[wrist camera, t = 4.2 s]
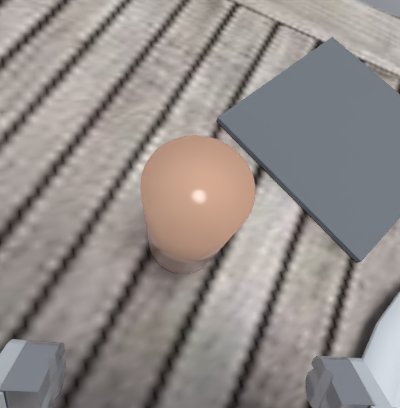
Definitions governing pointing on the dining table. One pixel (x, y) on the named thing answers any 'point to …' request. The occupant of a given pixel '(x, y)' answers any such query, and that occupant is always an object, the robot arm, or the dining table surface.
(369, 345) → the plated food
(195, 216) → the tan rounded cylinder
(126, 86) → the dining table surface
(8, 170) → the dining table surface
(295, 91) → the mat
